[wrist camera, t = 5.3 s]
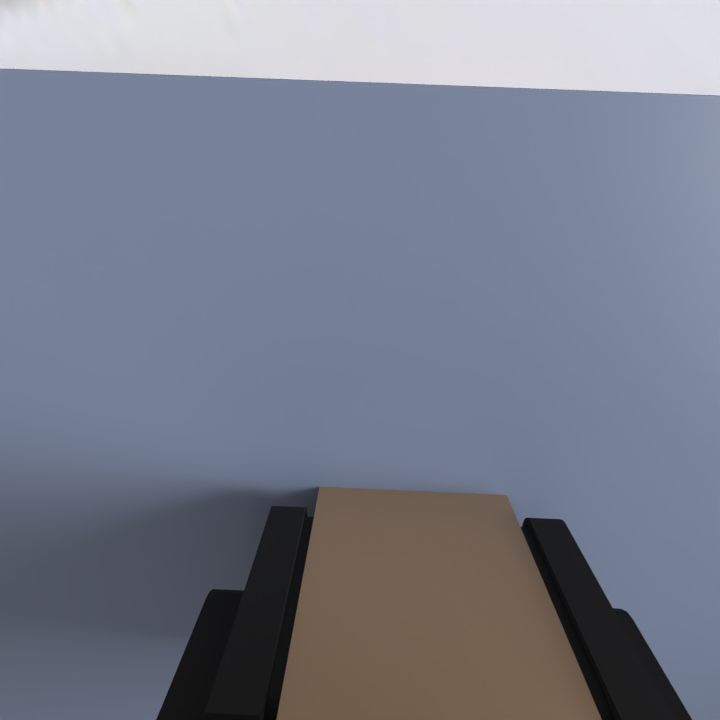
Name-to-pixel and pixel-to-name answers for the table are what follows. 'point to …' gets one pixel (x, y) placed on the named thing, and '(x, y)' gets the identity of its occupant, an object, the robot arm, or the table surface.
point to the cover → (354, 383)
